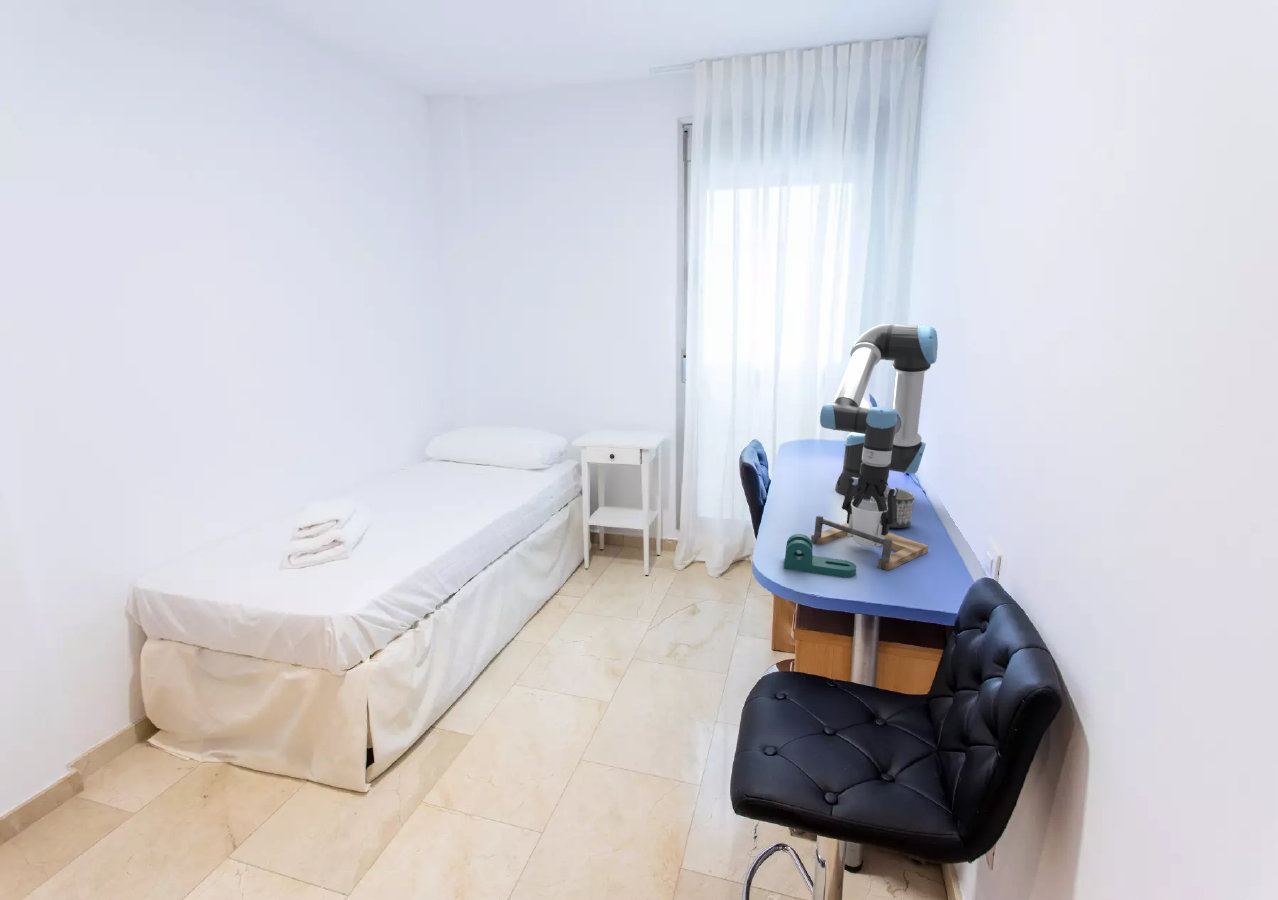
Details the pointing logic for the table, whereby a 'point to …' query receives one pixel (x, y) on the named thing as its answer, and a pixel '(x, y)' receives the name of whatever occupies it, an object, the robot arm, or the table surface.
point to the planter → (901, 508)
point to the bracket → (814, 559)
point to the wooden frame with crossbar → (891, 541)
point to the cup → (866, 521)
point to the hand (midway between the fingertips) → (865, 539)
